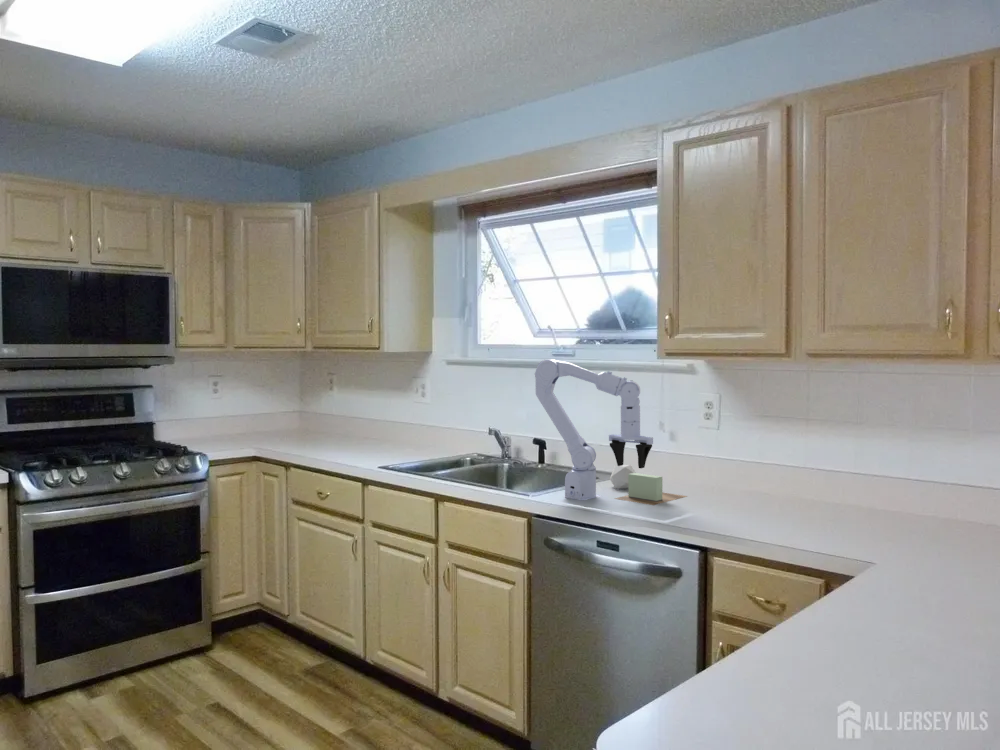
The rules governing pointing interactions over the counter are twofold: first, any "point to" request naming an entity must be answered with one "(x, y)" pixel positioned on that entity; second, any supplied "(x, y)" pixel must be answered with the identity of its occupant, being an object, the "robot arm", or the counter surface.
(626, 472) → the die
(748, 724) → the counter surface
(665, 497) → the walnut board
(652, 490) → the sage slab
